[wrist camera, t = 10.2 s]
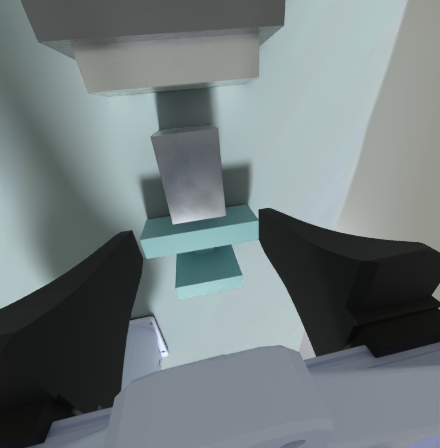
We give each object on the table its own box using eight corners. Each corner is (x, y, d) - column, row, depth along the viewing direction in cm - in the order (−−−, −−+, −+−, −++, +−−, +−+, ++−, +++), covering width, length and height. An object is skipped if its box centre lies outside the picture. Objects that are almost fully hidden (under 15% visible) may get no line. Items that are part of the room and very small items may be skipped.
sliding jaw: (248, 250, 23) (263, 282, 19) (161, 266, 22) (156, 303, 18) (247, 204, 20) (265, 229, 16) (146, 219, 19) (136, 251, 15)
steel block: (216, 192, 19) (225, 215, 15) (175, 198, 19) (172, 224, 15) (208, 123, 16) (218, 128, 12) (159, 129, 16) (150, 136, 11)
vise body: (256, 82, 15) (281, 73, 11) (93, 98, 14) (59, 93, 10) (256, -37, 12) (290, -105, 8) (48, -30, 11) (-24, -106, 7)
